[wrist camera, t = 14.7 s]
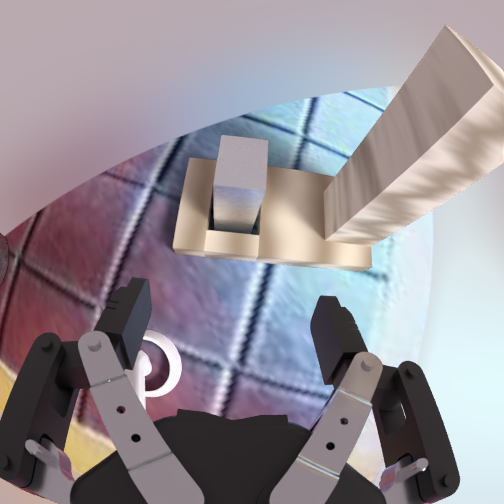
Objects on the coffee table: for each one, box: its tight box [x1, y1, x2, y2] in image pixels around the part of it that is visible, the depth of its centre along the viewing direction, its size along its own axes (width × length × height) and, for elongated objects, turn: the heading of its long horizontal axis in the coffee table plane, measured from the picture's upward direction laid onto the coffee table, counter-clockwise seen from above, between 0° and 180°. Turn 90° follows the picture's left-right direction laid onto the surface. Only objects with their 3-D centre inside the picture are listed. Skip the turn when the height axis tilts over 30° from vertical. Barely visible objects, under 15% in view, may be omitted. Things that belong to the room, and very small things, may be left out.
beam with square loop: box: [173, 25, 504, 272], centre depth 19 cm, size 22×11×26 cm, turn 86°
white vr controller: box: [124, 330, 182, 409], centre depth 22 cm, size 8×12×7 cm
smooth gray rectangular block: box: [213, 135, 269, 234], centre depth 26 cm, size 4×5×11 cm
